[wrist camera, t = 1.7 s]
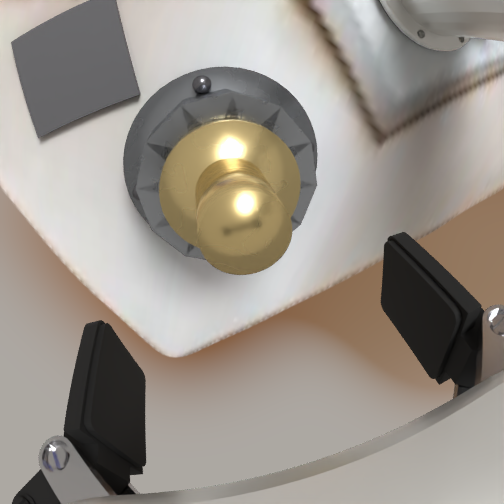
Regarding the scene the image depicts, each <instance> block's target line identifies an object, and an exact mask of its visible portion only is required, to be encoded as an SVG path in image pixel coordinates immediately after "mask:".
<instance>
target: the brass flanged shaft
mask: <svg viewBox="0 0 504 504" xmlns="http://www.w3.org/2000/svg"><path fill="white" fill-rule="evenodd" d="M300 185H301V182H300V173H299V168H298V165H297V162H296V160H295V157H294V156H293V154H292V152H291V150H290V149H289V148H288V146H287V145H286V144H285V143H284V142H283V141H282V140H281V139H280V138H279V137H278V136H277V135H275V134H274V133H273V132H271V131H270V130H269V129H267V128H266V127H264V126H262V125H260V124H257V123H255V122H252V121H248V120H244V119H235V118H227V119H218V120H213V121H210V122H207V123H204V124H202V125H200V126H198V127H196V128H194V129H192V130H191V131H189V132H188V133H187V134H185V135H184V136H183V137H182V138H181V139H180V140H179V141H178V142H177V143H176V144H175V145H174V147H173V148H172V150H171V151H170V153H169V154H168V156H167V159H166V161H165V163H164V166H163V169H162V173H161V177H160V184H159V198H160V204H161V208H162V211H163V213H164V216H165V218H166V220H167V221H168V223H169V225H170V226H171V227H172V229H173V230H174V231H175V232H176V233H177V234H178V235H179V236H180V237H181V238H182V239H184V240H185V241H187V242H188V243H190V244H192V245H193V246H195V247H198V248H200V250H201V252H202V254H203V256H204V257H205V259H206V260H207V261H208V262H209V263H210V264H211V265H212V266H214V267H215V268H217V269H219V270H221V271H223V272H226V273H229V274H235V275H247V274H253V273H257V272H260V271H262V270H264V269H266V268H268V267H270V266H271V265H273V264H274V263H275V262H277V261H278V260H279V259H280V258H281V257H282V255H283V254H284V253H285V251H286V250H287V248H288V246H289V244H290V241H291V237H292V222H291V216H292V215H293V213H294V211H295V208H296V206H297V203H298V200H299V195H300Z"/></svg>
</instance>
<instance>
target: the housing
mask: <svg viewBox="0 0 504 504" xmlns="http://www.w3.org/2000/svg"><path fill="white" fill-rule="evenodd" d="M227 118H235V119H244V120H248V121H252V122H255V123H257V124H260V125H262V126H264V127H266V128H267V129H269V130H270V131H271V132H273V133H274V134H275V135H277V136H278V137H279V138H280V139H281V140H282V141H283V142H284V143H285V144H286V145H287V146H288V148H289V149H290V150H291V152H292V154H293V156H294V157H295V160H296V162H297V165H298V168H299V173H300V182H301V185H300V195H299V200H298V203H297V206H296V208H295V211H294V213H293V215H292V216H291V222H292V231H293V230H295V229H296V228H297V227H298V226H299V225H301V223H302V220H303V218H304V215H305V213H306V211H307V208H308V206H309V203H310V201H311V199H312V196H313V194H314V191H315V189H316V186H317V181H316V168H317V143H316V138H315V134H314V130H313V127H312V125H311V122H310V120H309V118H308V116H307V114H306V112H305V110H304V109H303V107H302V106H301V105H300V103H299V102H298V100H297V99H296V98H295V97H294V96H293V95H292V94H291V93H290V92H289V91H288V90H287V89H285V88H284V87H283V86H281V85H280V84H279V83H277V82H276V81H274V80H272V79H270V78H269V77H267V76H265V75H262V74H259V73H257V72H254V71H251V70H246V69H242V68H234V67H212V68H206V69H201V70H197V71H194V72H191V73H188V74H185V75H183V76H181V77H179V78H177V79H175V80H173V81H171V82H169V83H168V84H167V85H165V86H164V87H162V88H161V89H159V90H158V91H157V92H156V93H155V94H154V95H153V96H152V97H151V98H150V99H149V100H148V101H147V102H146V103H145V105H144V106H143V107H142V108H141V110H140V111H139V113H138V114H137V116H136V118H135V119H134V121H133V123H132V126H131V128H130V130H129V133H128V136H127V140H126V143H125V149H124V157H123V165H124V176H125V182H126V186H127V189H128V192H129V195H130V197H131V199H132V201H133V203H134V205H135V207H136V208H137V210H138V211H139V213H140V214H141V216H142V217H143V218H144V219H145V220H146V221H147V223H148V224H149V225H150V227H151V229H152V231H154V232H155V233H156V234H157V235H159V236H160V237H161V238H163V239H164V240H165V241H166V242H168V243H169V244H170V245H172V246H173V247H174V248H176V249H177V250H178V251H180V252H181V253H182V254H183V255H185V256H188V257H194V258H200V259H205V257H204V256H203V254H202V252H201V250H200V248H198V247H195V246H193V245H192V244H190V243H188V242H187V241H185V240H184V239H182V238H181V237H180V236H179V235H178V234H177V233H176V232H175V231H174V230H173V229H172V227H171V226H170V225H169V223H168V221H167V220H166V218H165V216H164V213H163V211H162V208H161V204H160V198H159V184H160V177H161V173H162V169H163V166H164V163H165V161H166V159H167V156H168V154H169V153H170V151H171V150H172V148H173V147H174V145H175V144H176V143H177V142H178V141H179V140H180V139H181V138H182V137H183V136H184V135H185V134H187V133H188V132H189V131H191V130H192V129H194V128H196V127H198V126H200V125H202V124H204V123H207V122H210V121H213V120H218V119H227ZM205 260H206V259H205Z"/></svg>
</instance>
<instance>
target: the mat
mask: <svg viewBox="0 0 504 504" xmlns="http://www.w3.org/2000/svg"><path fill="white" fill-rule="evenodd" d="M11 44H12V49H13V53H14V58H15V62H16V66H17V70H18V74H19V78H20V82H21V85H22V89H23V92H24V96H25V99H26V103H27V106H28V109H29V112H30V115H31V118H32V122H33V125H34V127H35V130H36V133H37V136H38V138H40V137H42V136H43V135H45V134H47V133H49V132H51V131H53V130H55V129H58V128H60V127H62V126H64V125H66V124H68V123H70V122H72V121H75V120H77V119H79V118H81V117H84V116H86V115H88V114H91V113H93V112H95V111H98V110H100V109H103V108H105V107H108V106H110V105H113V104H115V103H118V102H121V101H123V100H126V99H129V98H131V97H134V96H137V95H140V91H139V87H138V84H137V80H136V76H135V73H134V69H133V66H132V62H131V58H130V54H129V51H128V47H127V43H126V39H125V35H124V31H123V27H122V23H121V19H120V15H119V11H118V6H117V2H116V0H89V1H87V2H84V3H82V4H80V5H78V6H76V7H74V8H71V9H69V10H67V11H65V12H63V13H61V14H59V15H57V16H55V17H53V18H52V19H50V20H48V21H46V22H44V23H42V24H41V25H39V26H37V27H35V28H34V29H32V30H30V31H28V32H27V33H25V34H23V35H22V36H20V37H19V38H17V39H15V40H14V41H12V42H11Z"/></svg>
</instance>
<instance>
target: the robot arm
mask: <svg viewBox="0 0 504 504" xmlns="http://www.w3.org/2000/svg"><path fill="white" fill-rule="evenodd" d="M380 2H381V4H382V6H383V8H384V10H385V11H386V13H387V14H388V16H389V17H390V18H391V20H392V21H393V22H394V24H395V25H396V26H397V27H398V28H399V29H400V30H401V31H402V32H403V33H404V34H405V35H406V36H407V37H409V38H410V39H411V40H413V41H414V42H416V43H417V44H419V45H421V46H423V47H426V48H428V49H432V50H437V51H452V50H457V49H459V48H461V47H463V46H464V45H465V44H466V43H467V42H468V41H469V39H470V38H480V39H489V40H497V41H504V0H380ZM381 305H382V308H383V310H384V312H385V313H386V315H387V316H388V317H389V318H390V320H391V321H392V323H393V324H394V326H395V327H396V328H397V330H398V331H399V333H400V334H401V336H402V337H403V338H404V340H405V341H406V343H407V344H408V346H409V347H410V349H411V350H412V351H413V353H414V354H415V356H416V357H417V359H418V360H419V362H420V363H421V365H422V366H423V368H424V369H425V371H426V372H427V374H428V375H429V377H431V378H432V379H436V381H437V382H438V384H441V383H443V382H445V381H447V380H448V379H450V378H451V379H452V380H453V382H454V383H455V387H454V394H453V399H452V400H450V401H449V402H447V403H445V404H443V405H442V406H440V407H438V408H436V409H434V410H432V411H430V412H428V413H427V414H425V415H423V416H421V417H419V418H417V419H415V420H413V421H411V422H409V423H407V424H405V425H403V426H401V427H399V428H397V429H394V430H393V431H390V432H388V433H386V434H384V435H381V436H379V437H377V438H374V439H372V440H370V441H367V442H365V443H362V444H360V445H357V446H355V447H352V448H350V449H347V450H345V451H342V452H339V453H336V454H334V455H331V456H328V457H325V458H322V459H319V460H316V461H313V462H310V463H307V464H303V465H300V466H297V467H293V468H290V469H286V470H283V471H279V472H275V473H272V474H267V475H263V476H259V477H255V478H250V479H246V480H241V481H237V482H232V483H226V484H221V485H215V486H208V487H203V488H195V489H187V490H179V491H169V492H160V493H148V494H140V493H139V492H138V491H137V490H136V489H135V488H134V486H132V484H131V483H130V475H137V474H143V468H142V466H145V464H146V444H145V443H146V442H145V375H144V373H143V371H142V370H141V368H140V367H139V366H138V364H137V363H136V362H135V361H134V359H133V357H132V356H131V355H130V353H129V352H128V350H127V349H126V348H125V346H124V345H123V343H122V342H121V341H120V339H119V338H118V336H117V335H116V333H115V332H114V330H113V329H112V327H111V326H110V325H109V324H108V323H106V324H105V323H104V322H103V321H102V320H100V321H96V322H92V323H88V324H86V325H85V327H84V331H83V335H82V339H81V343H80V347H79V351H78V356H77V360H76V364H75V369H74V374H73V379H72V384H71V389H70V394H69V399H68V405H67V411H66V417H65V425H64V437H63V436H54V437H51V438H49V439H48V440H46V442H45V443H44V444H43V445H42V447H41V449H40V452H39V465H40V468H41V469H40V470H39V472H38V473H37V474H36V475H35V476H34V477H33V478H32V479H31V480H30V481H29V482H28V483H27V484H26V485H25V486H24V487H23V488H22V489H21V490H20V491H19V492H18V493H17V494H16V496H15V497H14V499H13V502H12V504H504V306H503V305H494V306H490V307H489V308H487V309H486V310H485V311H484V310H483V309H482V308H481V304H480V303H479V302H478V301H477V300H476V299H475V298H474V297H473V296H472V295H471V294H470V293H469V292H468V291H467V290H466V289H465V288H464V287H463V286H462V285H461V284H460V283H459V282H458V281H457V280H456V279H455V278H454V277H453V276H452V275H451V274H450V273H449V272H448V271H447V270H446V269H445V268H444V267H443V266H442V265H441V264H440V263H439V262H438V261H436V260H435V259H434V258H433V257H432V256H431V255H430V254H429V253H428V252H427V251H426V250H425V249H423V248H422V247H421V246H420V245H419V244H418V243H417V242H416V241H415V240H414V239H412V238H411V237H410V236H409V235H408V234H407V233H405V232H402V233H399V234H396V235H393V236H390V237H389V238H388V241H387V242H386V243H385V244H384V262H383V280H382V293H381Z"/></svg>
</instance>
